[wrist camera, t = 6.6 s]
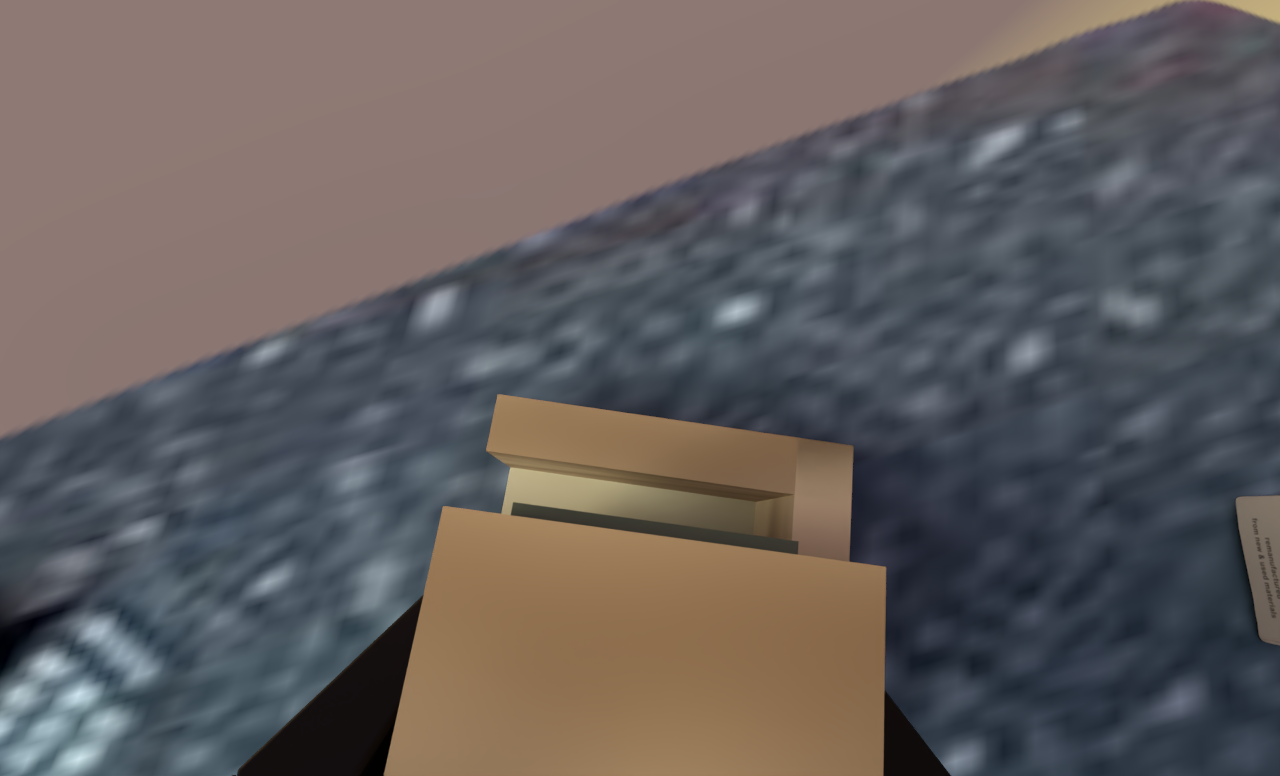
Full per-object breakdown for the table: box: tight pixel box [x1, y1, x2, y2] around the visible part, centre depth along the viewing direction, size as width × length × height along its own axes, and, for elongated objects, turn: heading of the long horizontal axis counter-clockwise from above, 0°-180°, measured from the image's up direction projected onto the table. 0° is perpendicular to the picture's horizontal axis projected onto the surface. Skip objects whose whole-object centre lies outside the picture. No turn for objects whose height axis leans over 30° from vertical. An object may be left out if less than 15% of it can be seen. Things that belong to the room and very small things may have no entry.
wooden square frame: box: [486, 394, 853, 562], centre depth 15 cm, size 10×10×4 cm
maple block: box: [384, 502, 886, 776], centre depth 10 cm, size 5×5×10 cm
